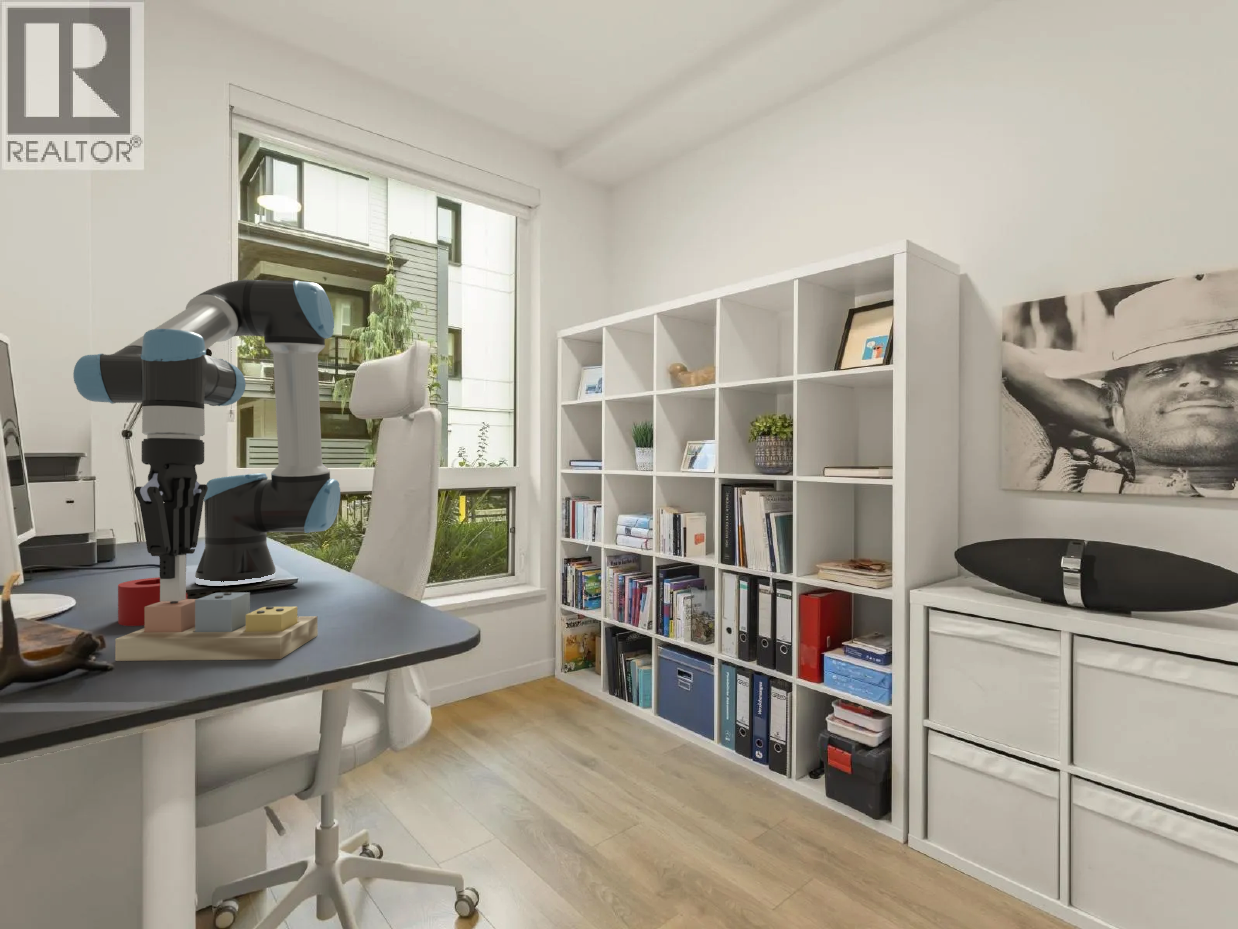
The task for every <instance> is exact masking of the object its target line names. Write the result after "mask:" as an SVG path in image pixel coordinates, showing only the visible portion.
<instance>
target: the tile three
mask: <svg viewBox="0 0 1238 929" xmlns="http://www.w3.org/2000/svg"><path fill="white" fill-rule="evenodd" d="M297 617H298V606H262V607H260V608H258V609H256V610H253V611H250V613H248V614H246V632H265V631H284V630H286V629H288V628H290V627H291V626H293V625H295V624H297Z"/></svg>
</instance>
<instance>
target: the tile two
mask: <svg viewBox="0 0 1238 929" xmlns="http://www.w3.org/2000/svg"><path fill="white" fill-rule="evenodd" d="M195 599H196V600H195V632H233V631H235V630H237V629H239V628H241V627H243V626H245V625H246V614H248V613H251V592H250V591H249V592H230V591H229V592H215V593H211V594H208V595H206V596H202V597H199V598H195Z"/></svg>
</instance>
